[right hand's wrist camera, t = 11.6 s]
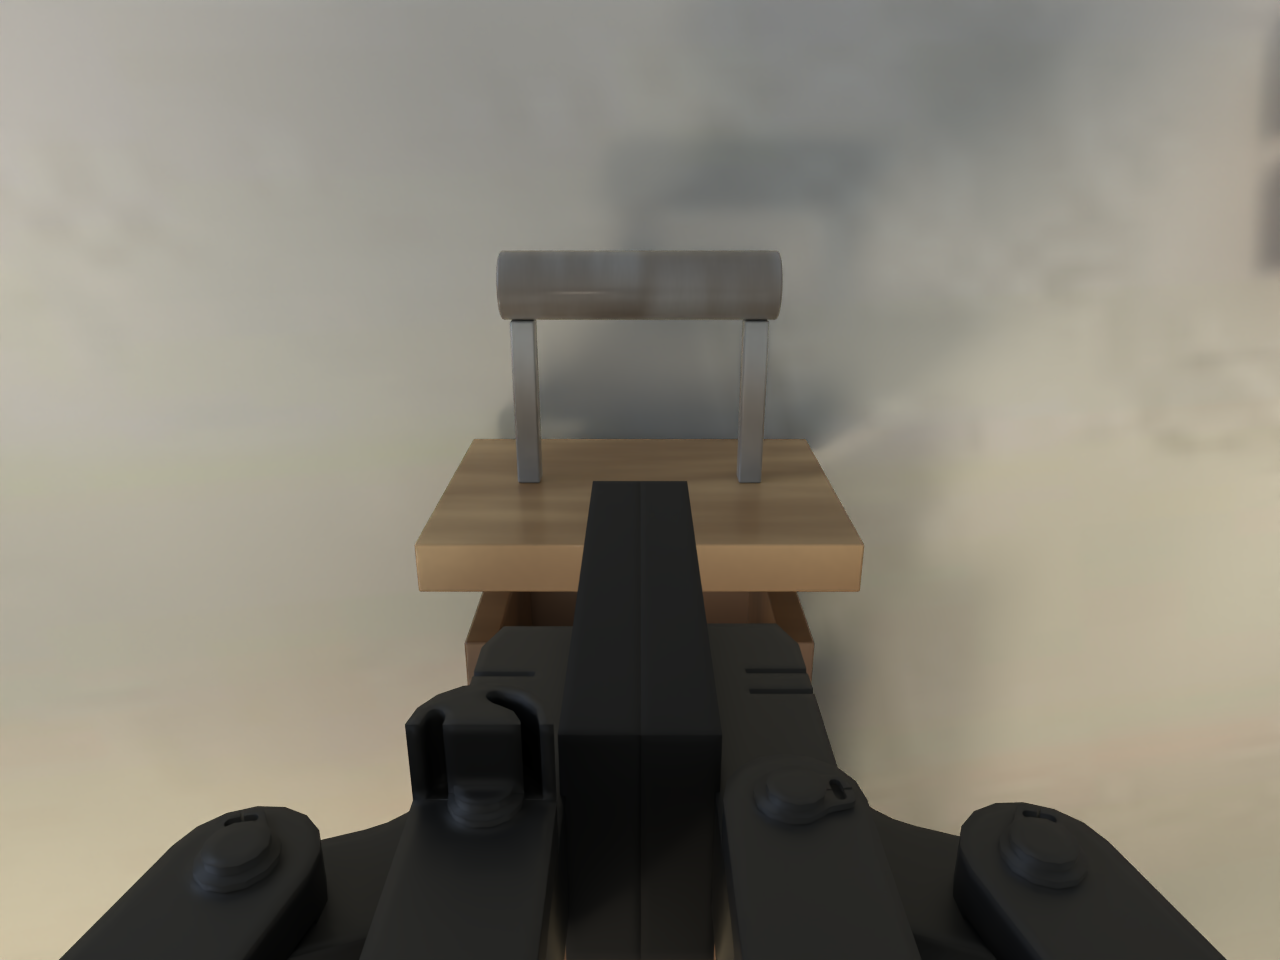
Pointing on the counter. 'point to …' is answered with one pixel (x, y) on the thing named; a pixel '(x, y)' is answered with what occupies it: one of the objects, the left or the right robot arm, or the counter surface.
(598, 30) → the counter surface
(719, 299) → the drawer
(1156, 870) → the counter surface
